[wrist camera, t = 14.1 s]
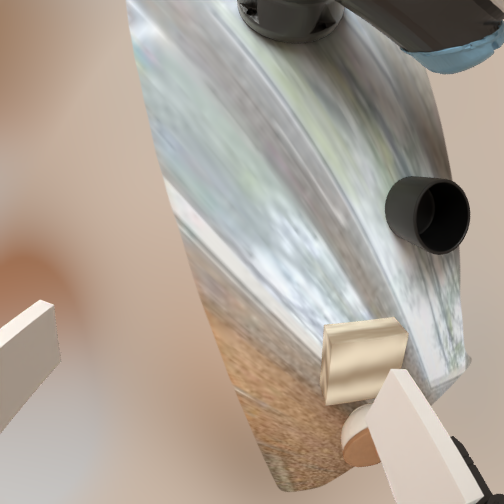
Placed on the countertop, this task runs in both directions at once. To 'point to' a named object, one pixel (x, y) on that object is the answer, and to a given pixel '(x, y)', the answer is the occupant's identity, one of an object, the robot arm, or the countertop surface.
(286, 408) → the countertop surface
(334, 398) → the riser block
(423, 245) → the black cup
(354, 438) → the lidded bowl
